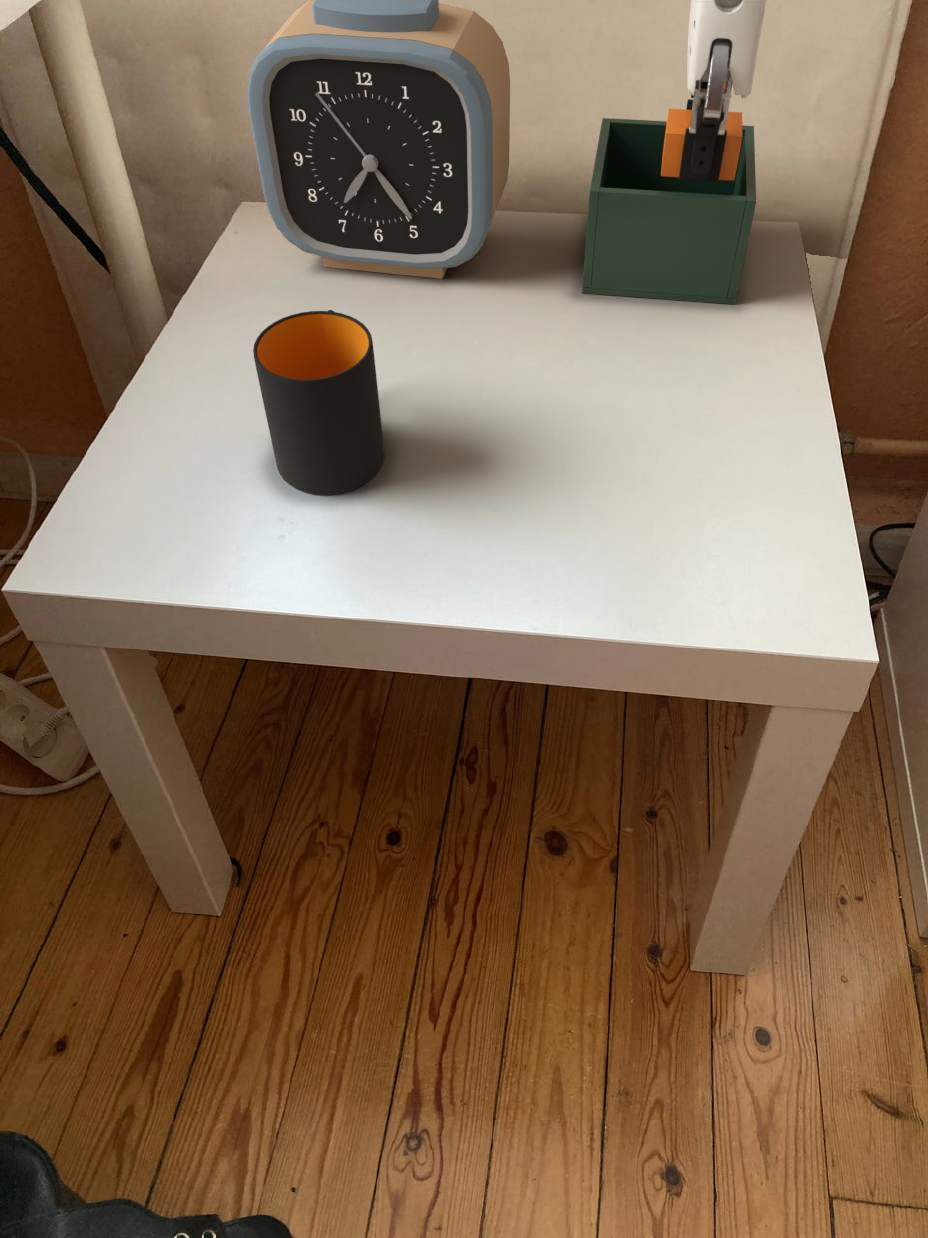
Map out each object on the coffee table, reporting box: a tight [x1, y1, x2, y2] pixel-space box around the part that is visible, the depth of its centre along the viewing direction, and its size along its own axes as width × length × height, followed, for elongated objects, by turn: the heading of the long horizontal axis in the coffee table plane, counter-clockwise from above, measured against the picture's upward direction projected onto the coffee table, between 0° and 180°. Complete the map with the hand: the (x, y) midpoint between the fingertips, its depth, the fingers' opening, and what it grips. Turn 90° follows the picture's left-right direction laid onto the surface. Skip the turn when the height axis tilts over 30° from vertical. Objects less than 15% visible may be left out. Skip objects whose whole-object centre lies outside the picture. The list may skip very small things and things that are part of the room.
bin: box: [581, 117, 757, 305], centre depth 92 cm, size 14×14×10 cm
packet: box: [661, 108, 743, 181], centre depth 84 cm, size 4×6×4 cm
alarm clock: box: [246, 0, 511, 280], centre depth 89 cm, size 21×10×22 cm, turn 78°
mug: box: [252, 309, 385, 496], centre depth 76 cm, size 8×12×10 cm
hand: (699, 161), depth 86 cm, fingers closed on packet, 4 cm apart
